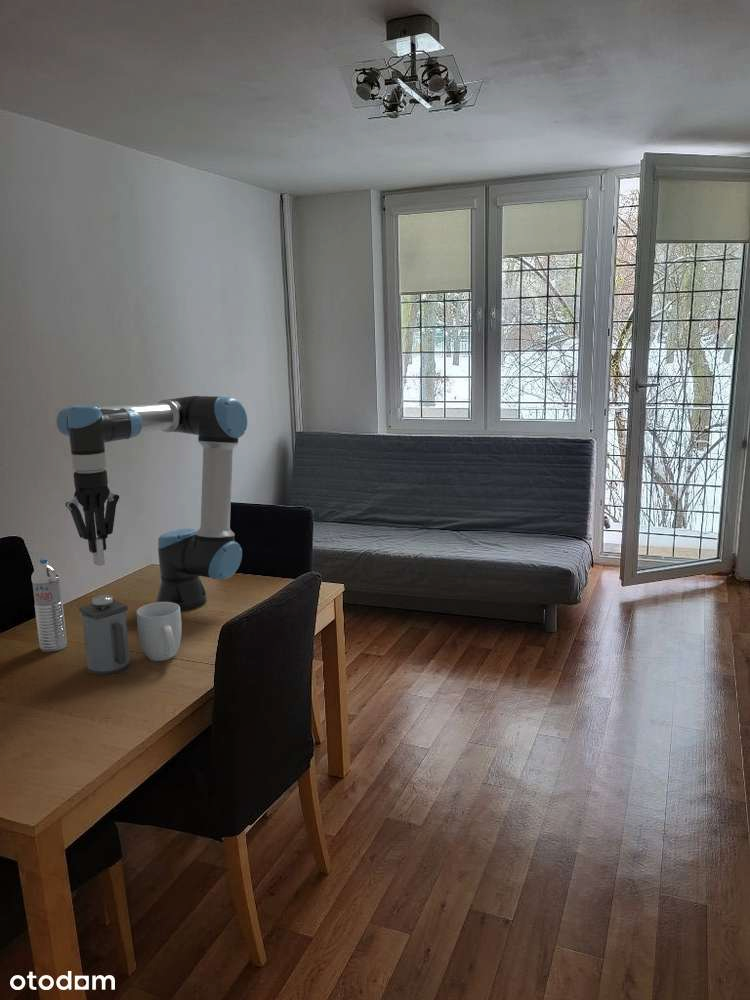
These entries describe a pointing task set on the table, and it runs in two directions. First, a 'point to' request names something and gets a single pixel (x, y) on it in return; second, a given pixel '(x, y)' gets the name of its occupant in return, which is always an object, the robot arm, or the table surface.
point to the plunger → (102, 601)
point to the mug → (159, 629)
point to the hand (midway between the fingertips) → (99, 564)
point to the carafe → (105, 638)
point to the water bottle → (49, 608)
